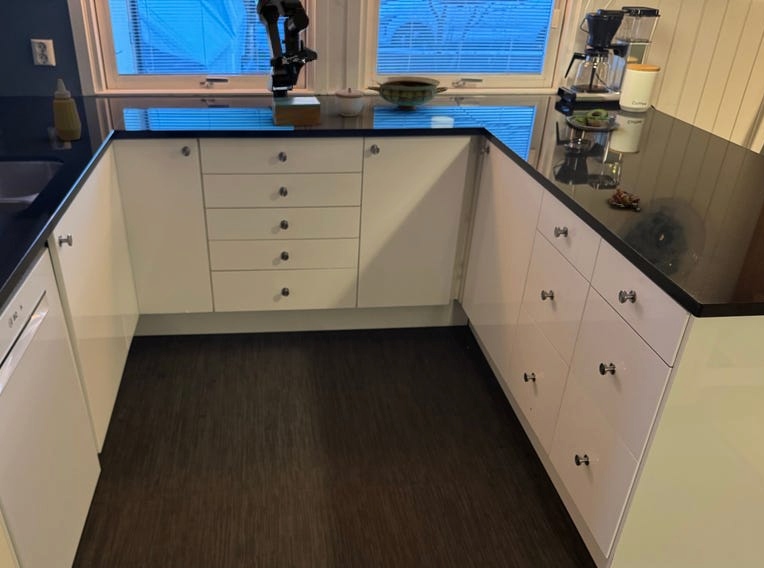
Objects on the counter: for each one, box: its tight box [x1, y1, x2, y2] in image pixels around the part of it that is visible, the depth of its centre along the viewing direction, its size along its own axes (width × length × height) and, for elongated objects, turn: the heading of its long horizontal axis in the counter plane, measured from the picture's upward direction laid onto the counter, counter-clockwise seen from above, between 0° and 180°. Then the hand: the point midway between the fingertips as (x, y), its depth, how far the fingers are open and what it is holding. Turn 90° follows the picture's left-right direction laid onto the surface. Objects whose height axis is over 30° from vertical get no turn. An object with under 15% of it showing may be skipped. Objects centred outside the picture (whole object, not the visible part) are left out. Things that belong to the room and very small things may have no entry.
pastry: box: [608, 187, 641, 212], centre depth 171 cm, size 7×12×4 cm, turn 164°
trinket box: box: [334, 87, 365, 117], centre depth 253 cm, size 11×11×9 cm
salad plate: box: [565, 108, 621, 132], centre depth 240 cm, size 19×18×5 cm
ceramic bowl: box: [367, 75, 449, 111], centre depth 262 cm, size 30×24×10 cm
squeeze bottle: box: [52, 78, 82, 142], centre depth 216 cm, size 8×8×18 cm
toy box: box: [271, 100, 321, 127], centre depth 243 cm, size 12×16×6 cm
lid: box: [271, 96, 322, 107], centre depth 241 cm, size 13×16×1 cm
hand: (294, 85), depth 241 cm, fingers closed
